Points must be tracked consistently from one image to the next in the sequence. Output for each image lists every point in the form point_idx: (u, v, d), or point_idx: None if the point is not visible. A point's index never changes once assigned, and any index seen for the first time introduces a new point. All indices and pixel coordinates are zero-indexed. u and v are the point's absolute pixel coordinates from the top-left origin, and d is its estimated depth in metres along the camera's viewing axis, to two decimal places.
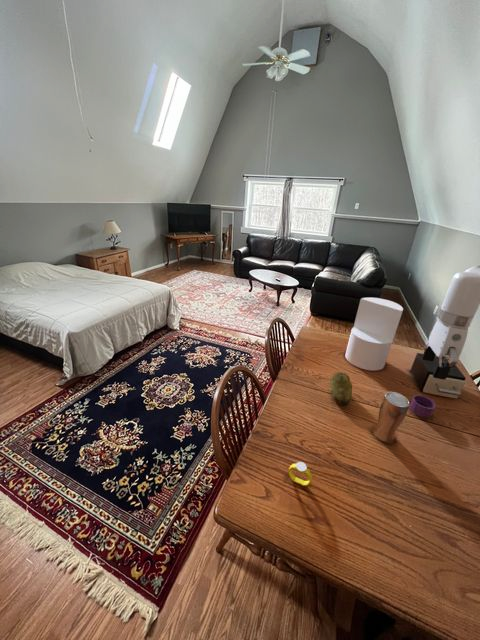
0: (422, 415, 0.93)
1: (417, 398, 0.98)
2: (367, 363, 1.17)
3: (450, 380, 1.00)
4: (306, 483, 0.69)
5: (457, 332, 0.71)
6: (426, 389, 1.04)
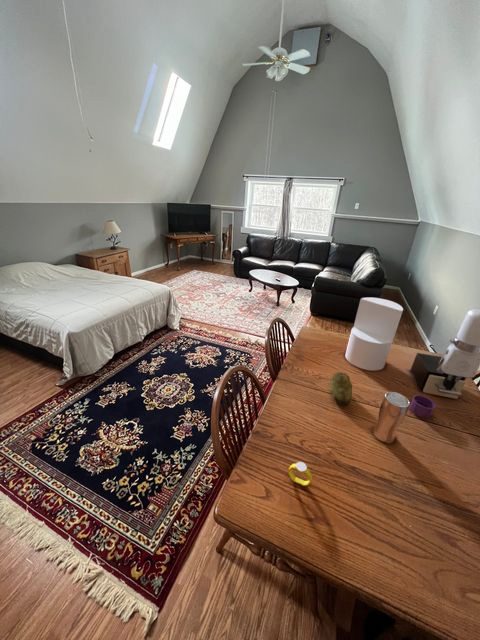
0: (422, 415, 0.93)
1: (417, 398, 0.98)
2: (367, 363, 1.17)
3: None
4: (306, 483, 0.69)
5: (449, 348, 0.94)
6: (426, 389, 1.04)
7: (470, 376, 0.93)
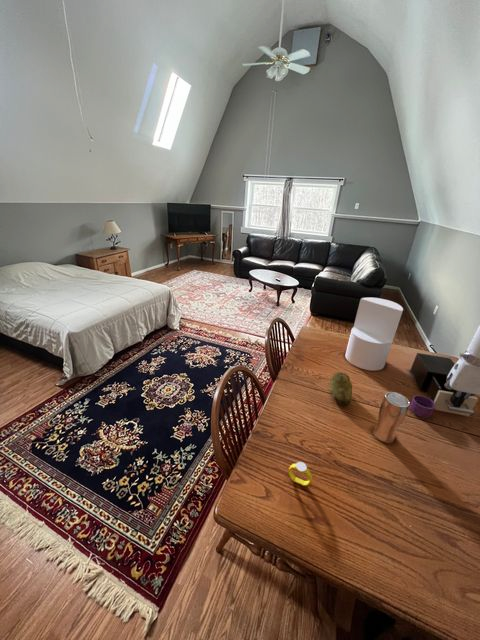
0: (422, 415, 0.93)
1: (417, 398, 0.98)
2: (367, 363, 1.17)
3: None
4: (306, 483, 0.69)
5: (458, 362, 0.86)
6: (435, 406, 0.96)
7: None
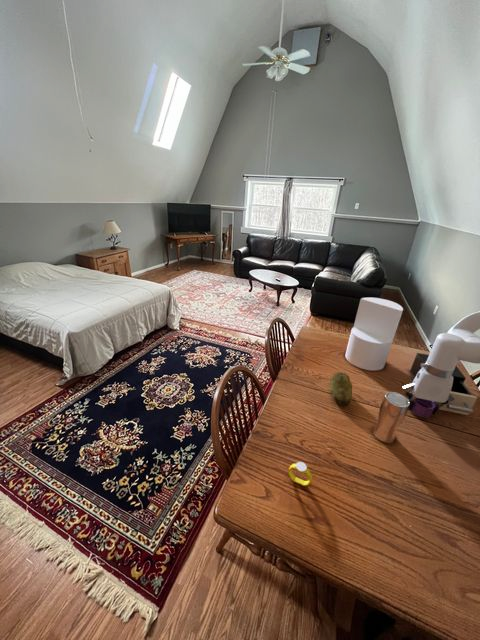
0: (422, 415, 0.93)
1: (417, 398, 0.98)
2: (367, 363, 1.17)
3: (461, 395, 0.93)
4: (306, 483, 0.69)
5: (420, 372, 0.91)
6: None
7: (442, 401, 0.90)
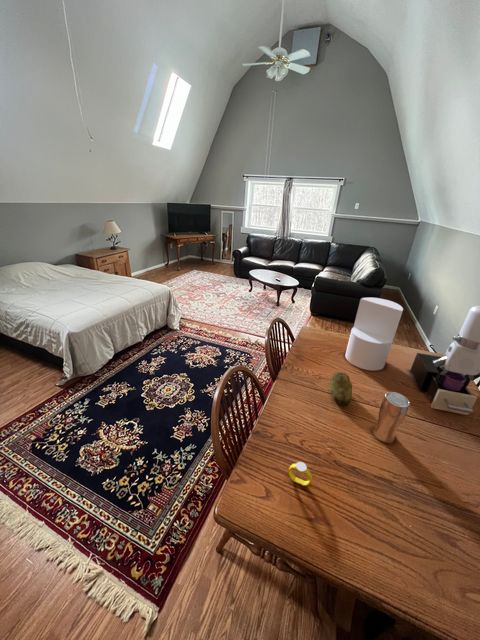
0: (453, 388, 0.95)
1: (447, 373, 1.00)
2: (367, 363, 1.17)
3: (461, 395, 0.93)
4: (306, 483, 0.69)
5: (452, 345, 0.93)
6: (434, 405, 0.96)
7: (473, 373, 0.92)
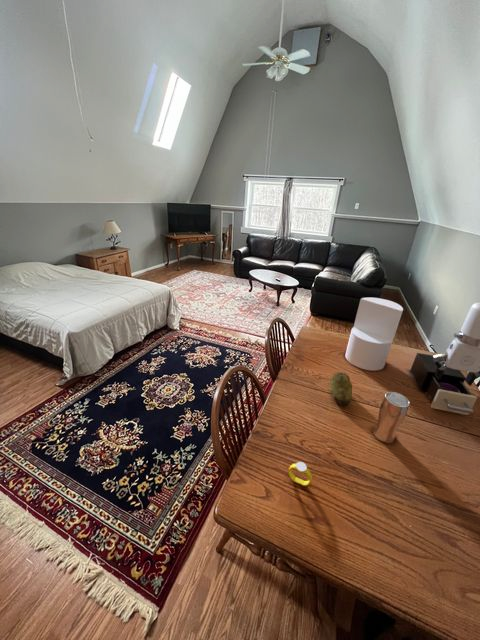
0: None
1: (441, 385, 1.02)
2: (367, 363, 1.17)
3: (461, 395, 0.93)
4: (306, 483, 0.69)
5: (453, 342, 0.92)
6: (434, 405, 0.96)
7: (475, 371, 0.91)
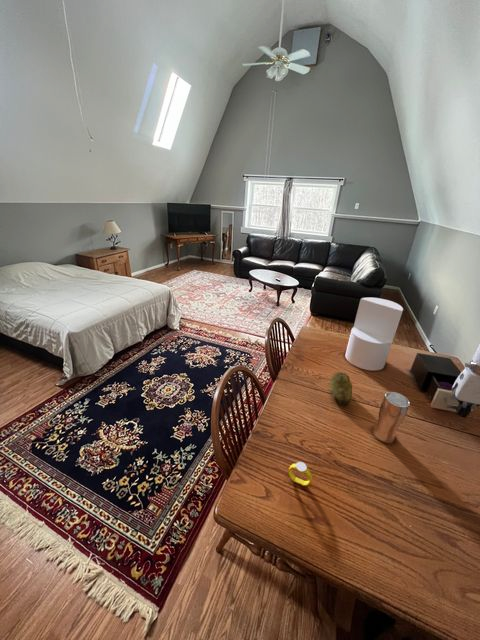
0: None
1: (441, 385, 1.02)
2: (367, 363, 1.17)
3: None
4: (306, 483, 0.69)
5: (464, 372, 0.84)
6: (434, 404, 0.97)
7: None
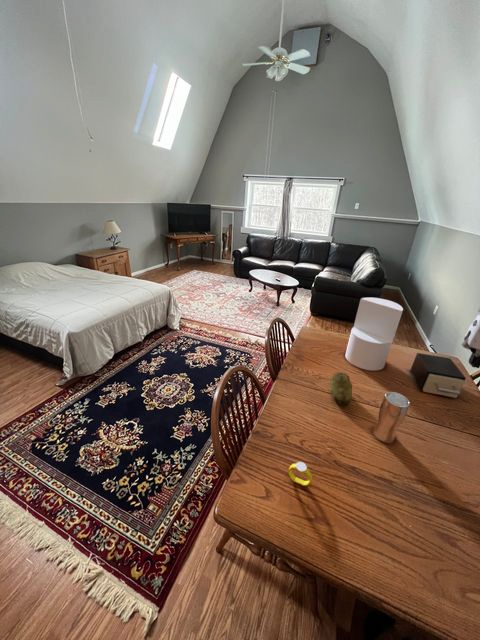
0: None
1: None
2: (367, 363, 1.17)
3: (449, 379, 1.01)
4: (306, 483, 0.69)
5: (477, 318, 0.81)
6: (426, 388, 1.05)
7: None
